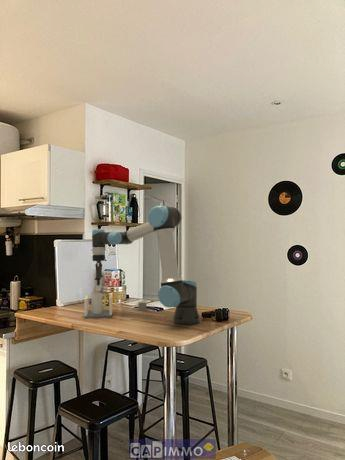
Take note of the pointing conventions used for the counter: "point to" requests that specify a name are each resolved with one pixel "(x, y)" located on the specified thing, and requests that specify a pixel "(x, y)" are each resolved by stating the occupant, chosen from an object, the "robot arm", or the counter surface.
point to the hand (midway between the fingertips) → (99, 289)
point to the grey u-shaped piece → (105, 314)
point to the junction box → (142, 305)
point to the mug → (97, 303)
